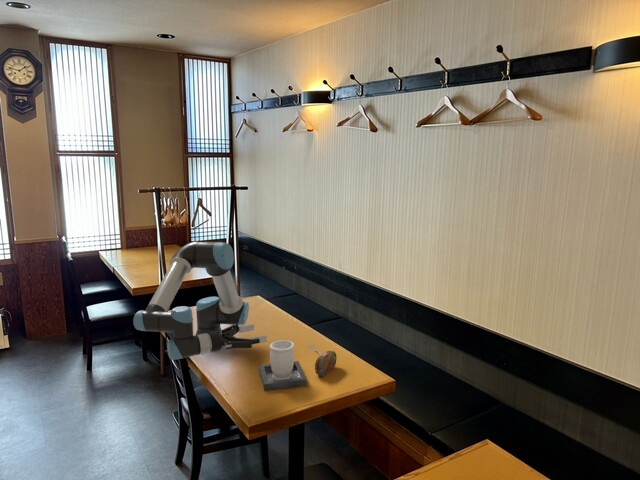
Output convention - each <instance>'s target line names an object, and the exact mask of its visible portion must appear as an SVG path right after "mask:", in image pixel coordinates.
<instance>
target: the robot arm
mask: <svg viewBox="0 0 640 480" xmlns="http://www.w3.org/2000/svg"><path fill="white" fill-rule="evenodd" d="M234 254H235V253H234V250H233V247H232V246H231V245H230V244H229V243H227V242H222V241H192V242H189V243H186V244H185V245H183V246H182V247H180V248H179V249H178V250H177V251H176V252H175V253H174V254H173V255H172V257H171V259H170V260H169V267H168V269H167V271H166V273H165V275H163V278H162V280H161V282H160V283H159V286H157V289H156V291H155V293H154V294H153V296H152V298H151V300H150V301H149V303H148V305H147V306H146V308H145V310H143V309H142V310H138V311H137V312H136V313H135V314H134V316H133V319H132V320H133V321H132V322H133V323H132V324H133V326H134V329H136V331H141V332H143V331H144V332H160V333H172V339H169V340H167V341H166V348H167V355H168V357H169V359H170V360H172V361H174V360H180V359H181V360H182V359H185V358H190V357H194V356H198V355H204V354H208V353H210V352H212V353H214V352H218V351H220V350H221V349H222V347H225V349H226V350H230V349H231V350H232V349H252V348H253V345H258V344H262V343H266V342H267V341H268V340H267V339H268V338H267V334H263V335H258V336H252V337H250V338H241V337H236V336H235V335H236V334H238V333H239V334H241V333H246V332H251V331H254V330H255V323H248V324H246V323H247V320H248V318H249V311H250V307H249V306H250V305H249V304H250V303H249V302H247V301H244V300H243V298H242V297H241V296H239V294H238V291H237V288H236V285H235V282H234V279H233V276H232V272H231V269H232V267H233V265H234V261H235V257H234ZM192 269H205V271H206V273H207V274H208V275H209V276H210V277H211V278H212V281H213V284H214V286H215V289H216V292H217V294H218V296H208V297H204V298H201V299H199V300H198V301H197V302H196V307H195V308H196V310H195V311H196V326H197V327H196V332H195V335H194V318H193V311H192V308H191V307H189V306H185V305H183V306H182V305H181V306H176V307H174V308H172V309H171V311H168V310H169V309H170V307H171V304H172V302H173V301H174V300H175V296H176V295H177V293H178V290H179V289H180V288H181V285H182V283H183V281H184V279H185V277H186V275H188V274H189V273H191V271H192ZM221 325H230V326H228V327H225V328H223V329H222V328H221Z"/></svg>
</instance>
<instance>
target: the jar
mask: <svg viewBox="0 0 640 480" xmlns="http://www.w3.org/2000/svg"><path fill="white" fill-rule="evenodd" d="M269 348H270V352H269V364H271V369H272V372H273V379H274V380H276V381H277V380H285V379H291V378H292V375H291V372H292V370H293V364H294V361H295V353H294V348H295V344H294V342H292V341H290V340H287V339H283V340H275V341H273V342H271V343H270V345H269Z"/></svg>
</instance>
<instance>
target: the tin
mask: <svg viewBox="0 0 640 480" xmlns="http://www.w3.org/2000/svg"><path fill="white" fill-rule="evenodd" d="M336 363H337V354H336V351H335V350H334V351H332V350H326V351H325V352H324V353H323V354H322V355H321V356H320V355H319V356H318V357H317V359H316V361H315V364H314V370H315V374H316V375H318V376H321V377H324V376H325V375H327V374H328V373H330V372H331V371H333V369H334V368H335V366H336Z"/></svg>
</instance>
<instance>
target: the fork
mask: <svg viewBox="0 0 640 480" xmlns="http://www.w3.org/2000/svg"><path fill="white" fill-rule="evenodd" d="M307 345H308V347H309V349H310V350H314V352H317V353H318V355H319V357H320V356H321V355H323V354H322V353H321V352H320V351H319V350H317V347H316V346H315V345H314V343H313V342H308V343H307Z"/></svg>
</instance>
